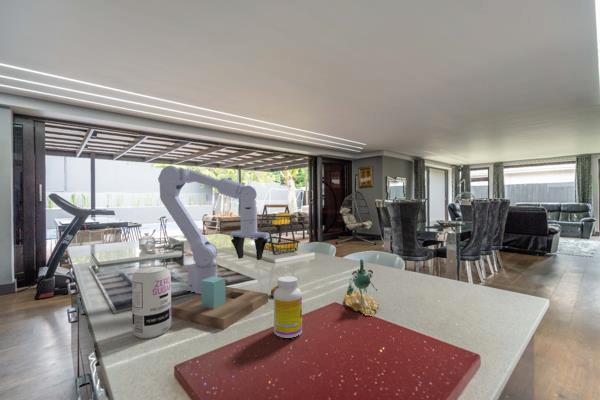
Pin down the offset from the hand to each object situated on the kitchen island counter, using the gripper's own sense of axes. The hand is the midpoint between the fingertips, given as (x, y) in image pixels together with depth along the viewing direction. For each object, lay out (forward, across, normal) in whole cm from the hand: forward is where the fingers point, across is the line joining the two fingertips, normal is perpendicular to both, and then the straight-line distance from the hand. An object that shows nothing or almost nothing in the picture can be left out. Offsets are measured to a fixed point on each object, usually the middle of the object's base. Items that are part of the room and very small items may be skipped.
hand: (249, 258), depth 100 cm
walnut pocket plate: (+10, +2, -18) cm, 21 cm away
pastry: (+11, +14, 0) cm, 18 cm away
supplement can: (+10, -5, -36) cm, 38 cm away
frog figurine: (+11, +39, -1) cm, 40 cm away
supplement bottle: (+11, +26, -25) cm, 38 cm away
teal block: (+8, +2, -22) cm, 24 cm away
